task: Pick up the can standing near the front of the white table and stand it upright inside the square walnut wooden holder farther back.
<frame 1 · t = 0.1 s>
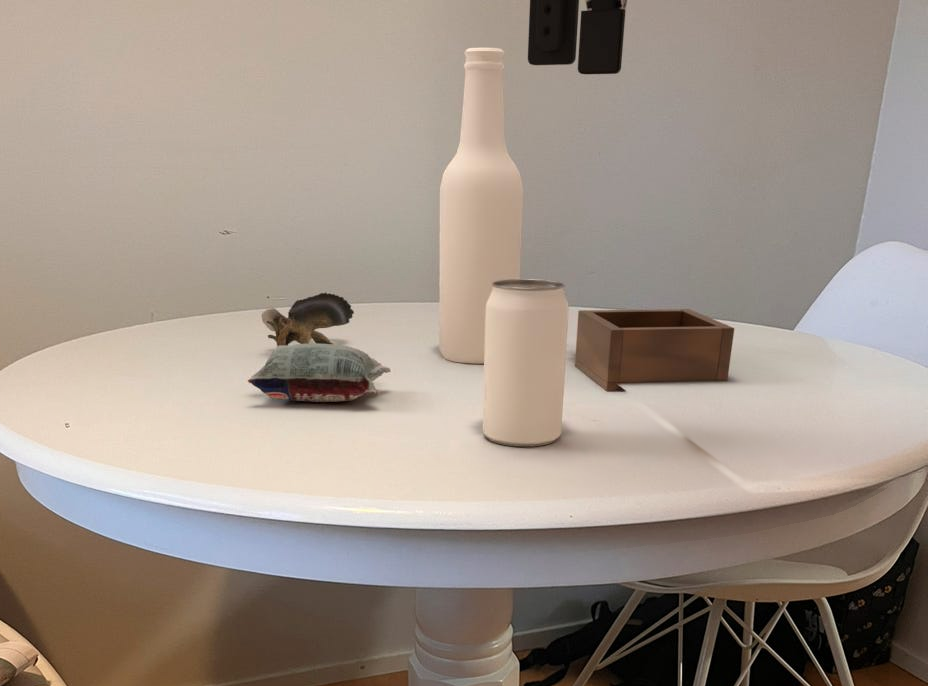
hand: (576, 69, 69), 26 cm above the table, tool pointing down, fingers open, 9 cm apart
holder: (647, 376, 102), on the table
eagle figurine: (309, 355, 112), on the table
packaged food: (322, 399, 93), on the table
alcohol: (477, 358, 111), on the table
can: (521, 439, 81), on the table
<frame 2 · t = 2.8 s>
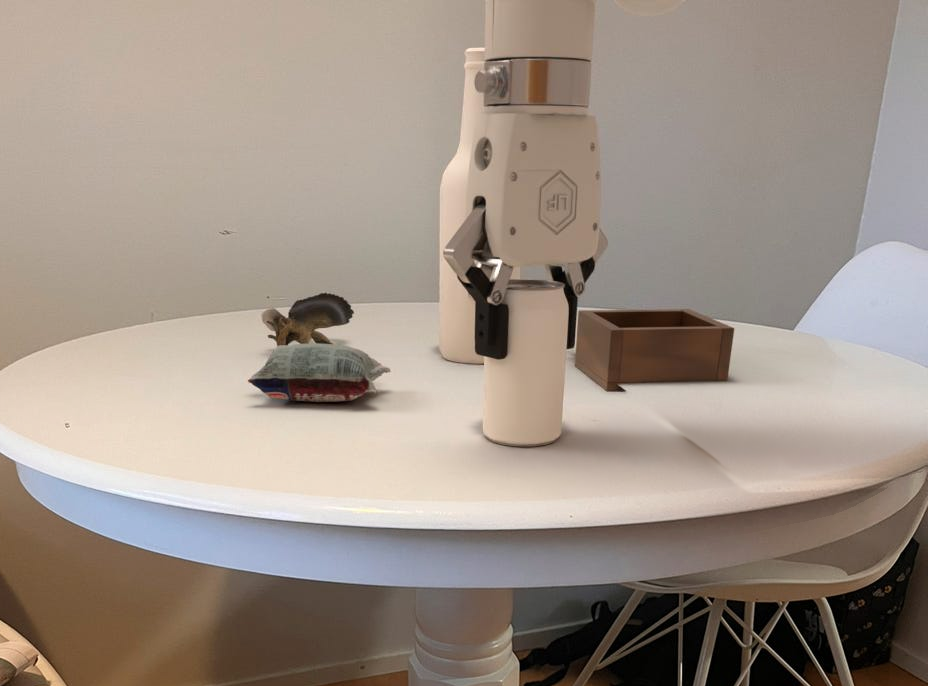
hand: (525, 349, 77), 7 cm above the table, tool pointing down, fingers closed on can, 6 cm apart
can: (521, 439, 81), on the table, touching gripper
everything else where it was.
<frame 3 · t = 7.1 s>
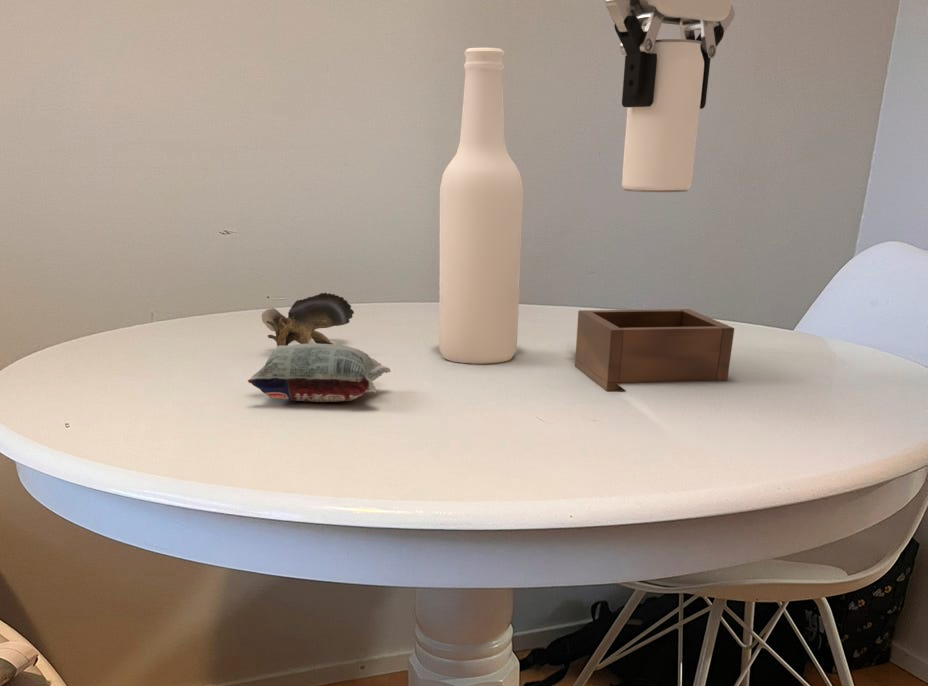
hand: (664, 105, 89), 25 cm above the table, tool pointing down, fingers closed on can, 6 cm apart
can: (655, 193, 92), point 18 cm above the table, touching gripper
everything else where it was.
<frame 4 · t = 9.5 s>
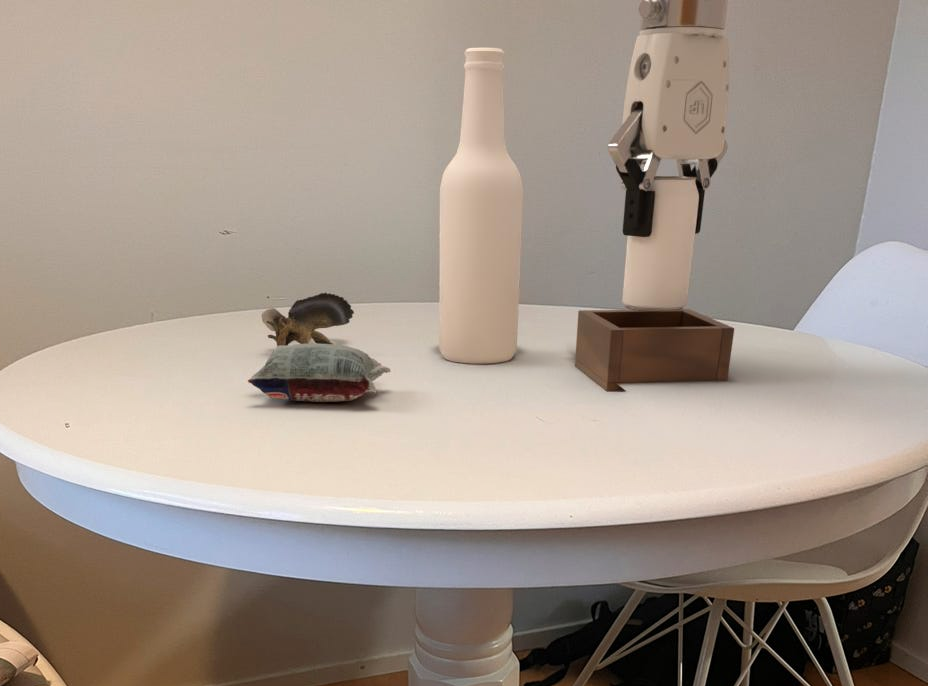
hand: (661, 232, 96), 14 cm above the table, tool pointing down, fingers closed on can, 6 cm apart
can: (653, 309, 99), point 7 cm above the table, touching gripper
everything else where it was.
when the fingers open (8 cm above the table, at t = 11.4 s): can stays where it is, resting on holder.
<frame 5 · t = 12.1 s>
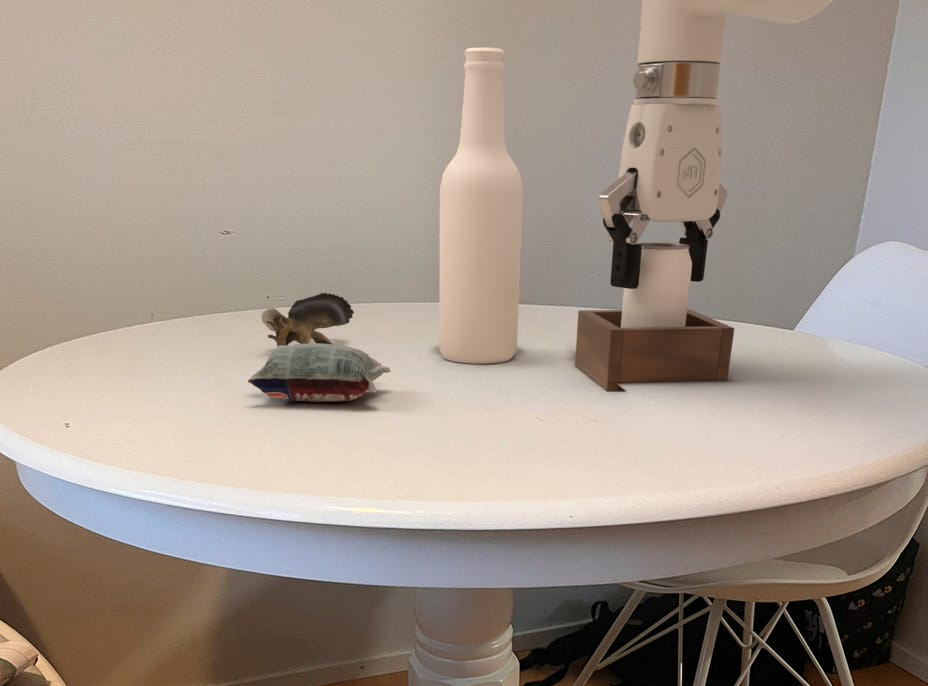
hand: (657, 283, 98), 9 cm above the table, tool pointing down, fingers open, 9 cm apart
can: (648, 370, 102), point 1 cm above the table, touching holder
everything else where it was.
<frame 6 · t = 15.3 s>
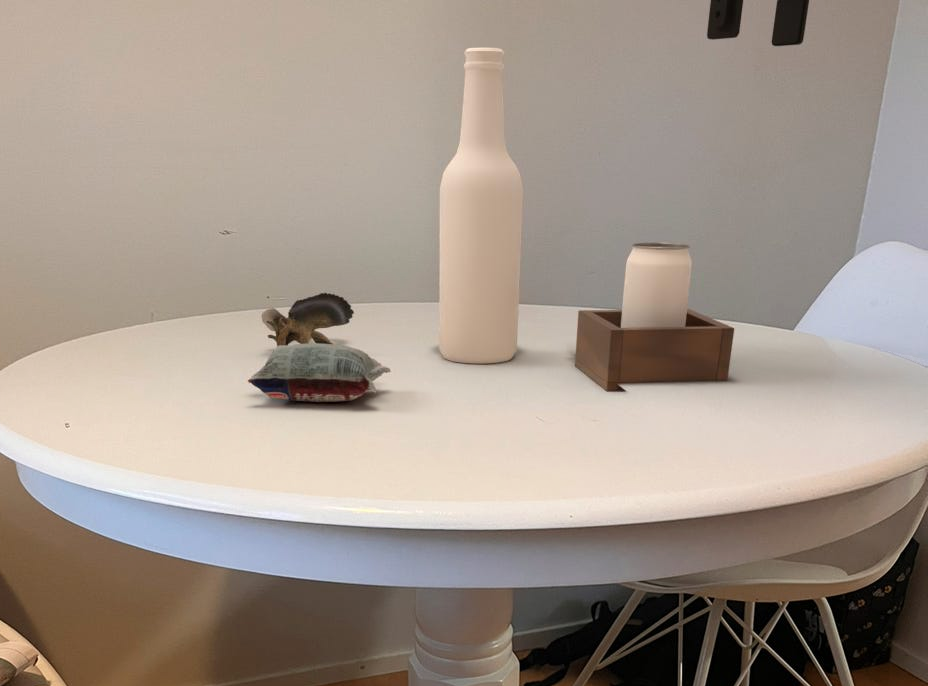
hand: (755, 41, 91), 30 cm above the table, tool pointing down, fingers open, 9 cm apart
nothing on the table moved.
at the end: can 0.0 cm off-centre in the holder, point 0.6 cm above the holder's base; can tilted 0° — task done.
